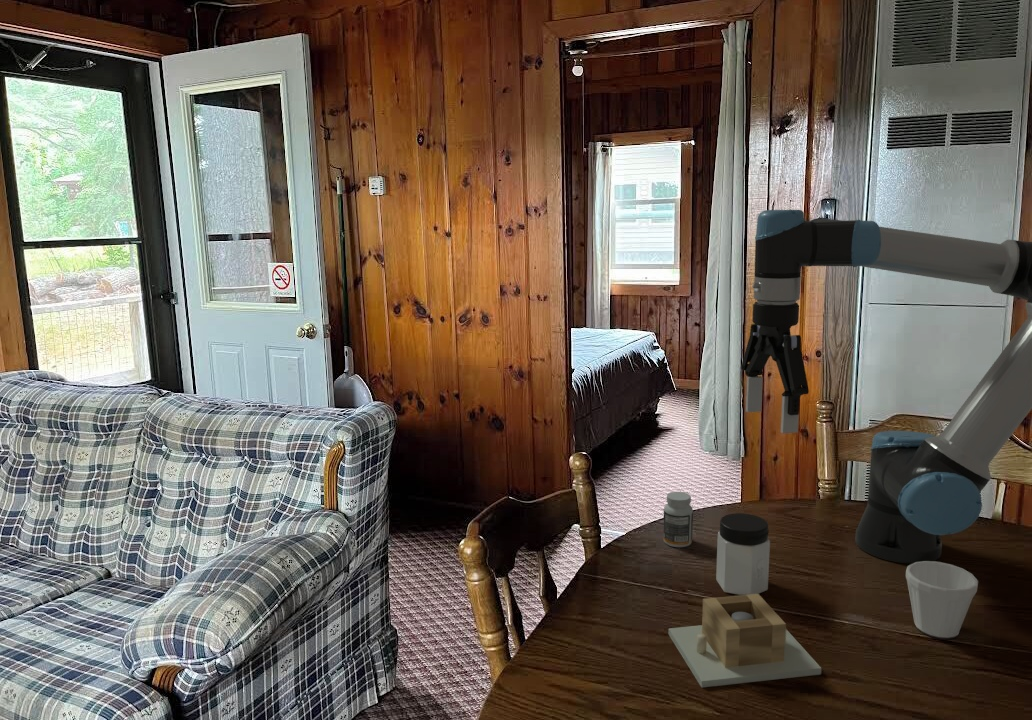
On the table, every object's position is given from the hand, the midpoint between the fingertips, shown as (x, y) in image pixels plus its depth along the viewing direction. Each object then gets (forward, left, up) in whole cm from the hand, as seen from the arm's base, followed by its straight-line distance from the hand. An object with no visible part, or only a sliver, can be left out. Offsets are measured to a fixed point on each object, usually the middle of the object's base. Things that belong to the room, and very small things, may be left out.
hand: (770, 421), depth 138 cm
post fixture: (+15, +24, -29) cm, 40 cm away
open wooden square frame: (+15, +24, -28) cm, 40 cm away
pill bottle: (+11, -15, -29) cm, 34 cm away
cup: (-18, +23, -29) cm, 41 cm away
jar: (+6, +4, -29) cm, 30 cm away
